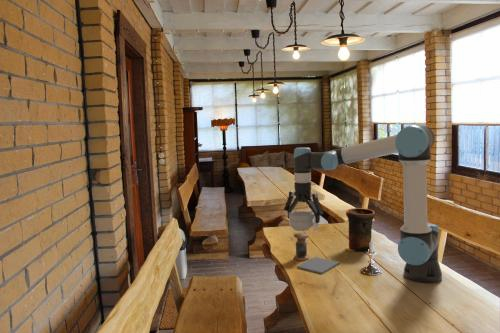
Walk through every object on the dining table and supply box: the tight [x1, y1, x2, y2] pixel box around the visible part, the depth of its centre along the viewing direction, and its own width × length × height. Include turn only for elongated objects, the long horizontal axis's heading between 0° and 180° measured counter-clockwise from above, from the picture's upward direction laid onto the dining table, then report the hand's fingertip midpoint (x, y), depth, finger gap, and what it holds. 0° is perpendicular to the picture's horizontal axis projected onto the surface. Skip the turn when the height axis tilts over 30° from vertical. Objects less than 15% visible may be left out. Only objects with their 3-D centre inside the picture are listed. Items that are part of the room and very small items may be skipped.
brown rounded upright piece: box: [293, 232, 310, 262], centre depth 207 cm, size 7×7×12 cm
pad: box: [296, 256, 340, 275], centre depth 197 cm, size 13×16×1 cm
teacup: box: [289, 210, 315, 232], centre depth 195 cm, size 14×11×8 cm
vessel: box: [345, 207, 376, 253], centre depth 220 cm, size 14×14×20 cm
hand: (303, 227), depth 195 cm, fingers closed on teacup, 12 cm apart
